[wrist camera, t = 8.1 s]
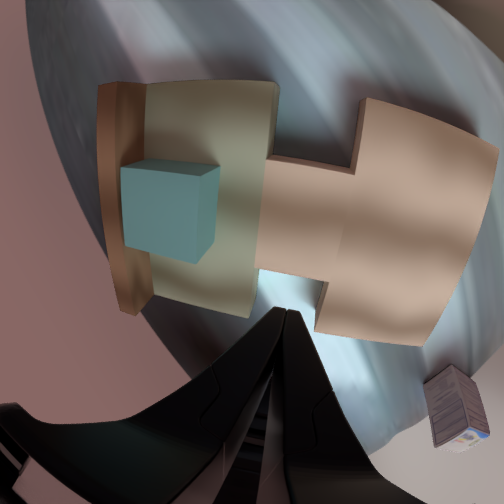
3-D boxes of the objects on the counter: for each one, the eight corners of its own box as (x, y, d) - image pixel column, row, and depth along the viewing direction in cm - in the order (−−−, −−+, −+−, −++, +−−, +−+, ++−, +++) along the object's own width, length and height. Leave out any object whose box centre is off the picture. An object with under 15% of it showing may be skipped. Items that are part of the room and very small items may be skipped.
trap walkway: (416, 326, 20) (430, 374, 15) (153, 274, 24) (120, 310, 19) (480, 143, 12) (526, 157, 7) (149, 88, 16) (98, 85, 11)
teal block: (214, 241, 18) (196, 264, 15) (149, 227, 18) (125, 245, 16) (220, 166, 15) (200, 176, 13) (149, 158, 16) (120, 167, 13)
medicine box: (421, 384, 23) (431, 449, 15) (452, 361, 21) (470, 428, 13) (449, 399, 23) (459, 454, 16) (476, 380, 21) (491, 436, 14)
